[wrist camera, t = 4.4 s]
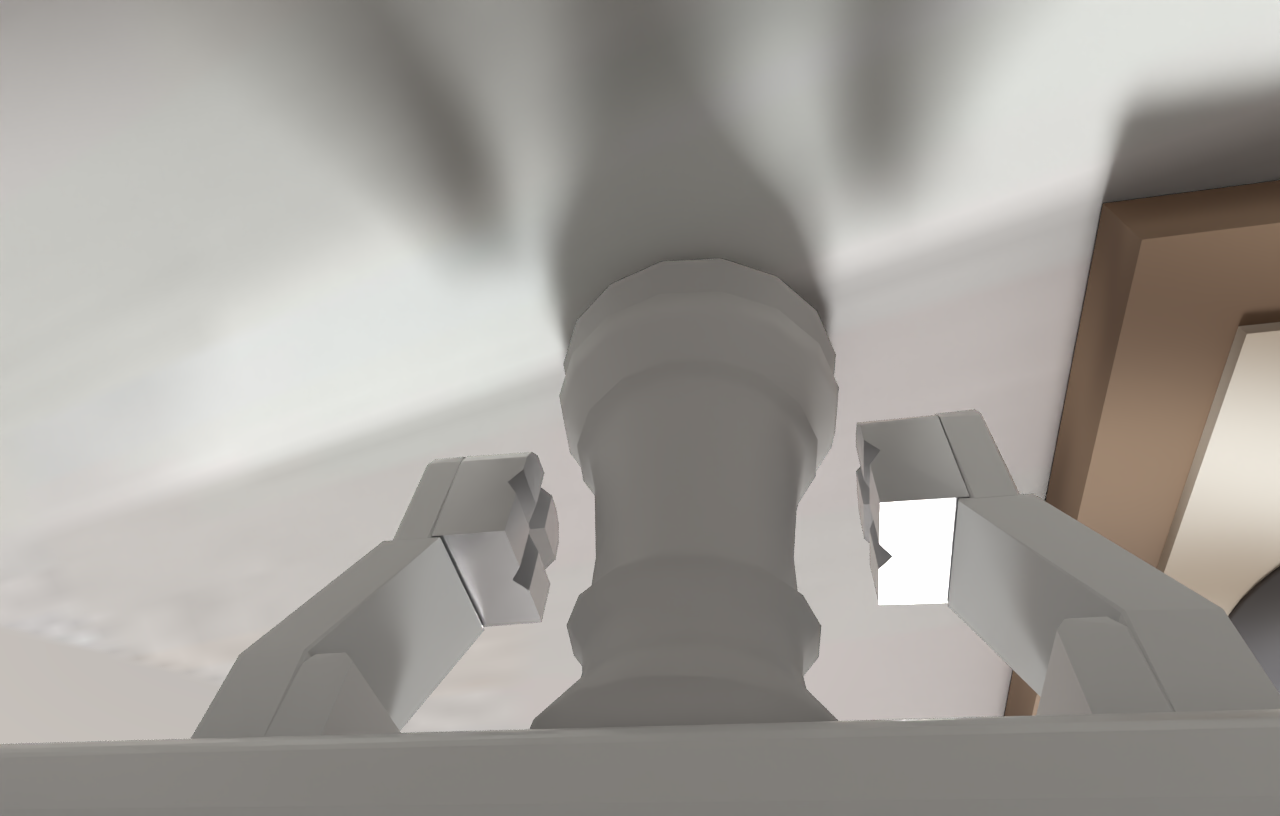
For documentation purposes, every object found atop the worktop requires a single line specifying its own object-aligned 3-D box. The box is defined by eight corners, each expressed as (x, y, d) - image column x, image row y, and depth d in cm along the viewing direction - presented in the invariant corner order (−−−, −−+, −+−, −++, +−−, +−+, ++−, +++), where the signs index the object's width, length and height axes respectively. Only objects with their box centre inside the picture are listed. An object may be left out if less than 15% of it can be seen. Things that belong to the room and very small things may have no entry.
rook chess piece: (797, 478, 14) (870, 1000, 8) (562, 447, 14) (442, 946, 8) (866, 262, 11) (1062, 796, 5) (574, 225, 11) (406, 711, 5)
